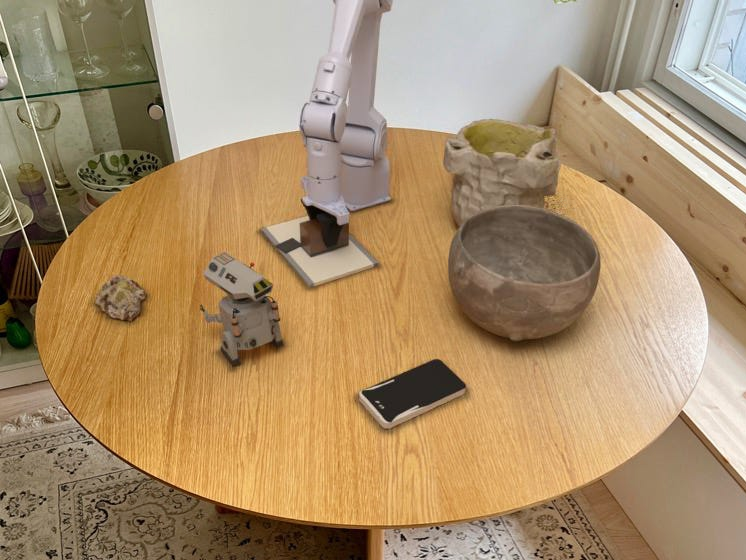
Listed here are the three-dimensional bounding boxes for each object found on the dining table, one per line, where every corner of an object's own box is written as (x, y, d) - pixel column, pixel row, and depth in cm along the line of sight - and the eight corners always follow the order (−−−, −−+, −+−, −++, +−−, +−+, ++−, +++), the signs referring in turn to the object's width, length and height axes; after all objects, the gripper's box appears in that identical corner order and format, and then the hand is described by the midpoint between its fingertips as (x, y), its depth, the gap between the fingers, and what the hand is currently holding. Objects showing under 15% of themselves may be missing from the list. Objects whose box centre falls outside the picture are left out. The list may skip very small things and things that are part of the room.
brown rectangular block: (338, 234, 141) (338, 211, 138) (348, 245, 139) (349, 222, 136) (300, 246, 138) (299, 222, 135) (310, 257, 136) (309, 233, 132)
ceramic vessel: (429, 140, 154) (521, 54, 137) (508, 223, 161) (604, 151, 144) (396, 191, 138) (495, 101, 122) (484, 281, 145) (590, 208, 128)
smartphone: (468, 386, 113) (385, 424, 107) (467, 393, 114) (385, 431, 108) (438, 357, 117) (357, 392, 111) (437, 363, 118) (356, 398, 112)
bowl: (491, 382, 116) (505, 305, 105) (413, 294, 131) (419, 219, 120) (613, 337, 124) (637, 262, 113) (527, 260, 139) (542, 187, 129)
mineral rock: (85, 281, 126) (129, 260, 127) (98, 299, 130) (140, 278, 131) (98, 320, 120) (144, 298, 121) (111, 338, 123) (156, 316, 124)
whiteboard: (326, 213, 148) (326, 209, 148) (378, 266, 136) (378, 262, 136) (261, 232, 143) (260, 228, 142) (309, 288, 131) (309, 284, 130)
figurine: (253, 314, 125) (245, 237, 115) (288, 352, 119) (283, 275, 108) (203, 333, 121) (190, 256, 111) (236, 374, 115) (226, 296, 104)
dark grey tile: (292, 239, 140) (292, 237, 140) (302, 245, 139) (302, 244, 139) (275, 246, 138) (275, 245, 138) (285, 253, 137) (285, 252, 136)
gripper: (284, 158, 131) (288, 225, 141) (323, 197, 122) (324, 265, 132) (319, 149, 134) (321, 216, 143) (360, 186, 125) (359, 254, 135)
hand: (325, 239), depth 138 cm, fingers closed on brown rectangular block, 4 cm apart
